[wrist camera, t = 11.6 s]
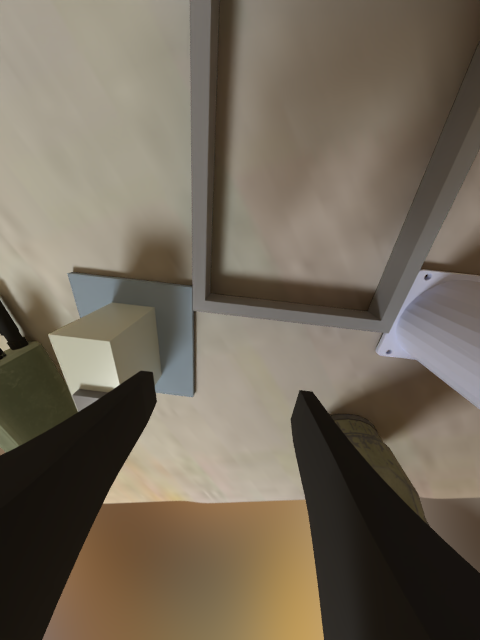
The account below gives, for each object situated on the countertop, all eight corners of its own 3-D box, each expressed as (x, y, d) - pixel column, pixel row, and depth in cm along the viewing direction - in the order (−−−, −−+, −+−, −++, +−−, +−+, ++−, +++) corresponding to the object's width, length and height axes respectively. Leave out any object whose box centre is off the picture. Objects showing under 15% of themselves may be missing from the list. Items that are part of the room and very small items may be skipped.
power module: (154, 307, 17) (102, 346, 11) (161, 375, 21) (124, 433, 15) (111, 302, 17) (38, 339, 12) (125, 370, 21) (74, 426, 15)
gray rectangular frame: (548, -70, 9) (626, -149, 7) (374, 322, 17) (388, 333, 15) (201, -96, 9) (188, -179, 7) (199, 302, 17) (192, 310, 16)
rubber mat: (193, 286, 17) (191, 287, 16) (194, 393, 22) (193, 397, 22) (72, 272, 17) (67, 273, 17) (102, 382, 23) (99, 385, 22)
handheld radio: (92, 449, 29) (-15, 292, 19) (112, 448, 29) (16, 289, 19) (51, 506, 23) (-139, 321, 13) (77, 506, 23) (-95, 316, 13)
